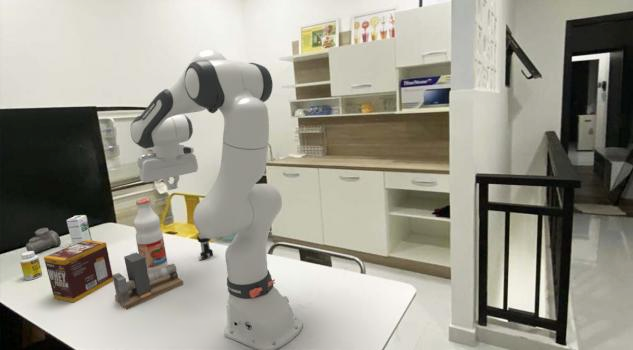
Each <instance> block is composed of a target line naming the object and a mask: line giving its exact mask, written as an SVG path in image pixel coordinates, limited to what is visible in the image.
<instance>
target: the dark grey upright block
mask: <svg viewBox="0 0 633 350" xmlns="http://www.w3.org/2000/svg"><path fill="white" fill-rule="evenodd" d="M123 258H124V259H123V260H124V263H125V268H126V273H127V279H128V281H131V280H134V282H135V287H136V288H135V289H133V290H132V291H133V292H134V293H136V294H137V295H138V296H140V295H142V294H145V293H147V292H149V291H151V288H150V282H149V277H148V271H147V266H146V261H145V257H143V256H141V255H140V254H139V252H138V251H137V252H134V253H130V254H128V255H124V257H123Z"/></svg>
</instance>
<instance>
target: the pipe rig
mask: <svg viewBox="0 0 633 350" xmlns="http://www.w3.org/2000/svg"><path fill="white" fill-rule="evenodd" d="M112 277H113V281H112V282H113V285H114V290H115V295H114V298H115V300H116V302H117V303H119V304H120V305H121V306H122V307H123V308H124V309H125V310H126V311H127V310H129V309H130V310H131V309H132V308H134V307H137V306H138V305H141V304H143V303H145V302H147V301H149V300H152V299H154V298H157V297H159V296H161V295H163V294H165V293H167V292H169V291H171V290H174V289H176V288H178V287H180V286H183V285H184V281H183V279H181V278H180V277H179V276H178V271H177V265H176V264H175V263H171V264H169V265H168V264H167V266H166V267H163V268H161V269H158V270H156V271H153V272H151V273H148V277H149V282H150V288H151V291H149V292H147V293H145V294H142V295H140V296H138V295H137V294H136V293H134V292H133V291H132V290H133V289H135V288H136V287H135V282H134V280H131V281H129V280H128V281H127V278H126V276H124V275H122V274H121V273H120V272H117V273H114V274H112Z"/></svg>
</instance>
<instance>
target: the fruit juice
mask: <svg viewBox="0 0 633 350" xmlns="http://www.w3.org/2000/svg"><path fill="white" fill-rule="evenodd" d="M135 204H136V206H137V214H136V216H135V218H134V221H133V227H134V230H135V231H136V234H135V240H136V241H135V242H136V247H137V253H138V254H140V255H141V256H143V257H145V261H146V266H147V271H148V273H151V272H153V271H156V270H158V269H161V268H163V267H166V266H168V257H167V252H166V246H165V240H164V235H163V230H162V228H161V227H160V226H161V221H160V220H161V219H160V217H159V215H158V214H157V213H156V212H155V211H154V210H153V208H152V206H151V204H152V201H151V199H150V198H141V199H138V200H136V201H135Z"/></svg>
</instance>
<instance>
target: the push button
mask: <svg viewBox="0 0 633 350" xmlns="http://www.w3.org/2000/svg"><path fill="white" fill-rule="evenodd" d="M196 238H197V242H198V243H200V247H201V252H200V254H199V255H200V256H198V260H199V261H201V260H206V259H208V258H210V257H213V256H214V253H213V252H214V251H213V249H211V247H210V241H211V239H208V238H206V237H204V236H203V235H201V234H200V233H199V235H198V236H197V237H196Z"/></svg>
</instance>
